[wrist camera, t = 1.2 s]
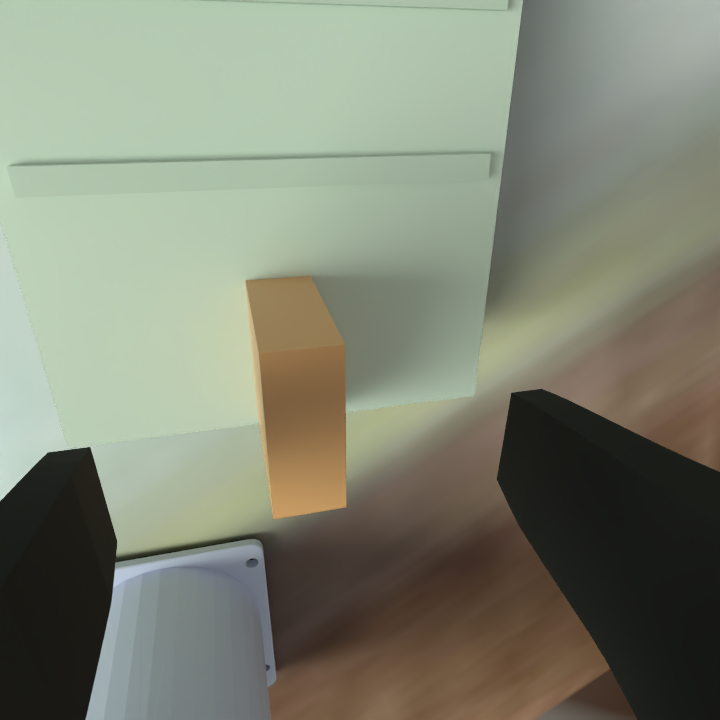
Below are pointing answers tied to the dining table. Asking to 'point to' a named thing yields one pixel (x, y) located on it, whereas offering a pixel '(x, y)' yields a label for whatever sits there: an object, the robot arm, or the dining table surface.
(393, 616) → the dining table surface
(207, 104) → the lid
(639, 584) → the robot arm
